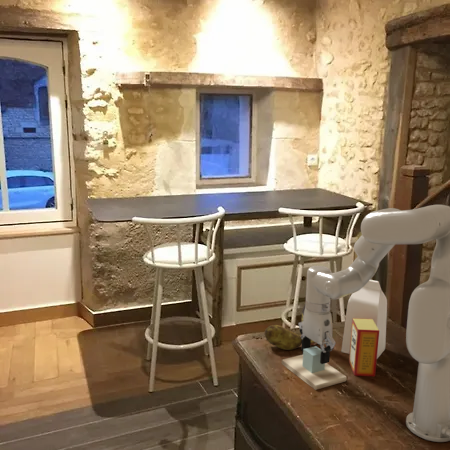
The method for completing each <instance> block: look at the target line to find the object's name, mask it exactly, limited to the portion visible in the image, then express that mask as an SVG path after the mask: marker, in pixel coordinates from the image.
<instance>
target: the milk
mask: <svg viewBox="0 0 450 450" xmlns="http://www.w3.org/2000/svg"><path fill="white" fill-rule="evenodd" d="M347 301H348V302H347V306H346V313H345V320H344V329H343V333H342V334H343V337H342V343H341V351H340V352H341V353H345V354H347V355H349V353H350V341H351V329H352V318H364V319H373V321H374V322H375V324H376V326H377V328H378V329H379V340H378V351H377V359H379V357H380V356H381V355H382V353H383V352H384V351H385V350H386V339H387V337H386V336H387V315H388V311H387V310H388V299H387V296H386V295H385V293H384V292H383V290H382V288H381V284H380V281H378V280H373V279H370V280H369V281H368V282H367V283H366V285H365V286H364V287H363V288H362V289H360V290H359V291H357V292H355V293H352V294H350V296H349V299H348V300H347Z"/></svg>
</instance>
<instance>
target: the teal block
mask: <svg viewBox="0 0 450 450" xmlns="http://www.w3.org/2000/svg"><path fill="white" fill-rule="evenodd" d="M321 351H322V349H321V347H320V348H319V347H318V346H316V345H313V346H310V348H306V349H303V351H302V355H303V365H302V366H303V367H304V368H306V369H307V370H308V371H310V372H311V373H314V372H318V371H322V370H325V363H324V364H321V363H320V356H321Z"/></svg>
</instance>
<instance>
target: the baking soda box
mask: <svg viewBox="0 0 450 450" xmlns="http://www.w3.org/2000/svg"><path fill="white" fill-rule="evenodd" d="M378 340H379V329H378V328H377V326H376V324H375V322H374V321H373V319H364V318H352V329H351V341H350V353H349V354H348V363H349V366H350V368H351V370H352V373H353V375H354V376H355V377H359V376H360V377H376V370H377V362H378V361H377V360H378V358H377V351H378Z"/></svg>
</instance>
